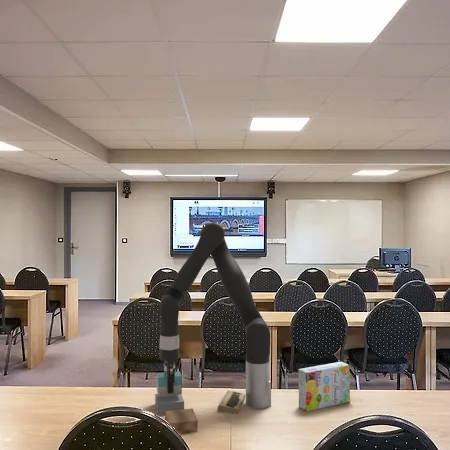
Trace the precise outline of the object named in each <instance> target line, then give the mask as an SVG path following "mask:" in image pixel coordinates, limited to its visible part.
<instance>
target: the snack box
mask: <svg viewBox="0 0 450 450" xmlns="http://www.w3.org/2000/svg"><path fill="white" fill-rule="evenodd" d="M297 378H298V407H299V408H301V410H303V411H305V412H310V411H315V410H316V411H317V410H320V409H325V408H328V407H334V406H337V405H341V404H347V403H350V402H351V389H350V388H351V387H350V385H351V384H350V383H351V382H350V381H351V380H350V378H351V376H350V364H348V363H346V362H343V361H336V362H332V363H327V364H319V365H315V366H309V367H304V368H298V377H297Z"/></svg>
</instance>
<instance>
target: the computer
mask: <svg viewBox="0 0 450 450" xmlns="http://www.w3.org/2000/svg"><path fill="white" fill-rule="evenodd" d="M245 400H246V393H243V392H241V391H240V392H239V391H235V390H229V389H228V390H227V391H225V394H224V395H223V397H222V398H221V401H219V404H218V406H217V408H216V409H217V410H216V412H217V413H226V414H235V415H236V414H237V415H238V413H239V411H240V409H241V407H242V405H243V403H244V401H245Z"/></svg>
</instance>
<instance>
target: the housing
mask: <svg viewBox="0 0 450 450" xmlns="http://www.w3.org/2000/svg"><path fill="white" fill-rule="evenodd" d="M167 375H168V374H167ZM182 379H183V376H182V373H181V371H175V383H173V393H170V394H168V392H167V377H166V373H164V372H157V373H156V394H158V396H168V395H179V394H181V395H182V394H183V393H182V391H183V380H182ZM169 380H172V378H170V379H169Z"/></svg>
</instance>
